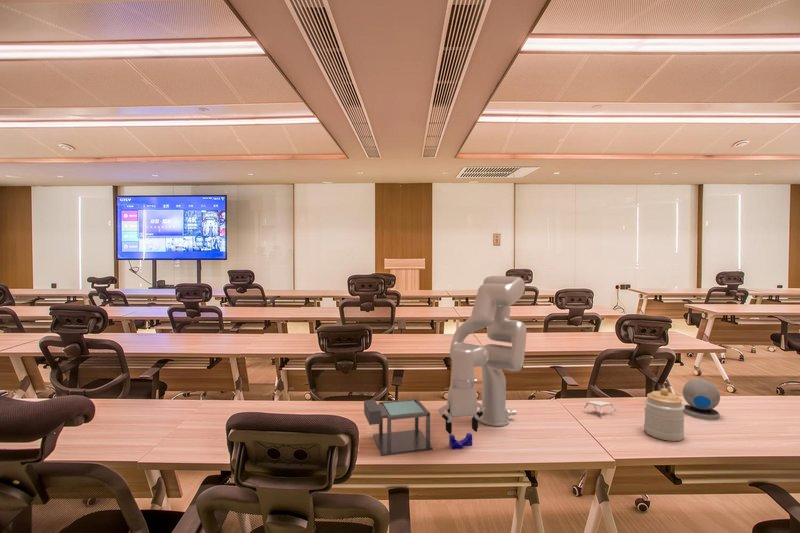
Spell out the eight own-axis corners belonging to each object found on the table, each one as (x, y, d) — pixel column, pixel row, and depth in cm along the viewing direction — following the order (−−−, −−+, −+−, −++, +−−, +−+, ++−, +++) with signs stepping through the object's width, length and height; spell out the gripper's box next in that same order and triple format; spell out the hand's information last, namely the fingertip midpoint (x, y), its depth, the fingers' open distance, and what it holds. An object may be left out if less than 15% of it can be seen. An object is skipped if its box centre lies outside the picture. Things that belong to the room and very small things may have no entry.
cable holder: (451, 450, 143) (452, 438, 143) (449, 445, 147) (449, 434, 146) (473, 448, 144) (473, 437, 144) (470, 443, 148) (470, 433, 148)
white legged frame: (594, 419, 170) (594, 407, 170) (583, 411, 179) (583, 400, 178) (621, 417, 171) (621, 406, 171) (608, 410, 180) (609, 399, 180)
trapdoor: (413, 407, 155) (413, 395, 155) (423, 419, 144) (423, 407, 143) (363, 412, 150) (363, 400, 150) (369, 425, 139) (369, 412, 139)
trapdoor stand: (419, 431, 158) (419, 398, 158) (432, 449, 143) (433, 413, 142) (373, 436, 153) (373, 402, 153) (381, 456, 138) (381, 418, 138)
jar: (689, 444, 147) (690, 395, 147) (649, 439, 151) (650, 392, 151) (677, 429, 160) (677, 384, 159) (639, 425, 164) (640, 381, 163)
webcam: (717, 412, 177) (718, 378, 177) (721, 422, 167) (722, 386, 166) (681, 406, 184) (682, 373, 184) (683, 415, 173) (683, 380, 173)
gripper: (480, 378, 149) (479, 425, 149) (436, 381, 145) (435, 429, 145) (489, 384, 142) (489, 433, 142) (443, 387, 138) (442, 438, 138)
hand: (461, 431), depth 144 cm, fingers open, 9 cm apart
